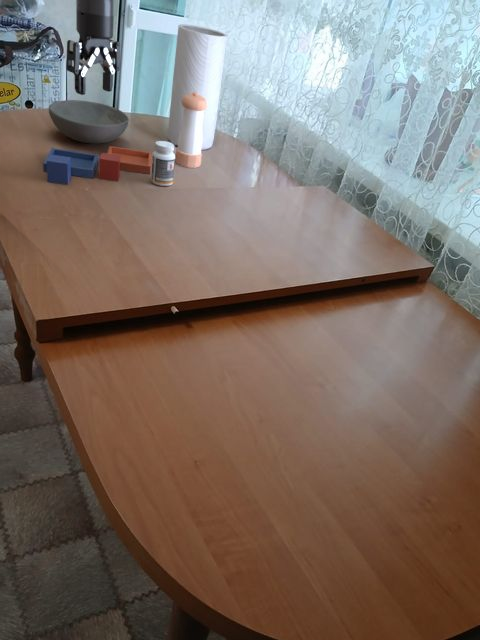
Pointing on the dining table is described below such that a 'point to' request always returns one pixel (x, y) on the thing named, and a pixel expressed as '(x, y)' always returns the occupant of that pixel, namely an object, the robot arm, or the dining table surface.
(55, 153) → the blue tray
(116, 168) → the red block
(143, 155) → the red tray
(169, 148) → the pill bottle
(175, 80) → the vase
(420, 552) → the dining table surface
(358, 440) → the dining table surface
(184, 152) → the salt shaker
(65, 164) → the blue block
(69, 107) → the bowl
